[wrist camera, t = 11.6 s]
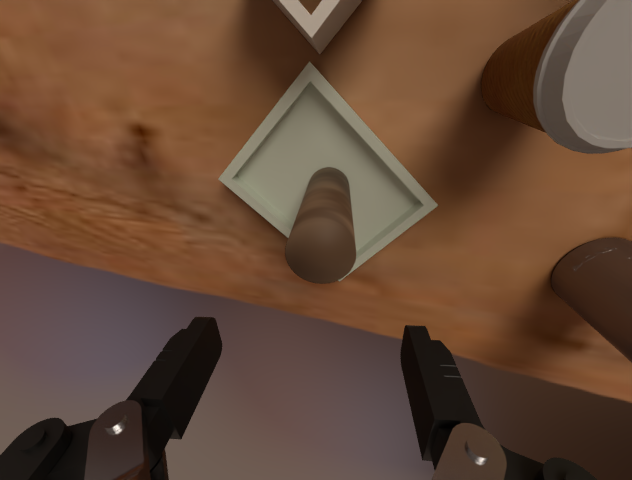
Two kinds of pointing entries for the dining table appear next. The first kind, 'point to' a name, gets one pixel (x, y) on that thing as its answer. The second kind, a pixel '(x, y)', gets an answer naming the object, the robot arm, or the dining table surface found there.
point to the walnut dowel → (323, 230)
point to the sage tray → (320, 152)
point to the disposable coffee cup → (569, 76)
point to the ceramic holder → (318, 19)
